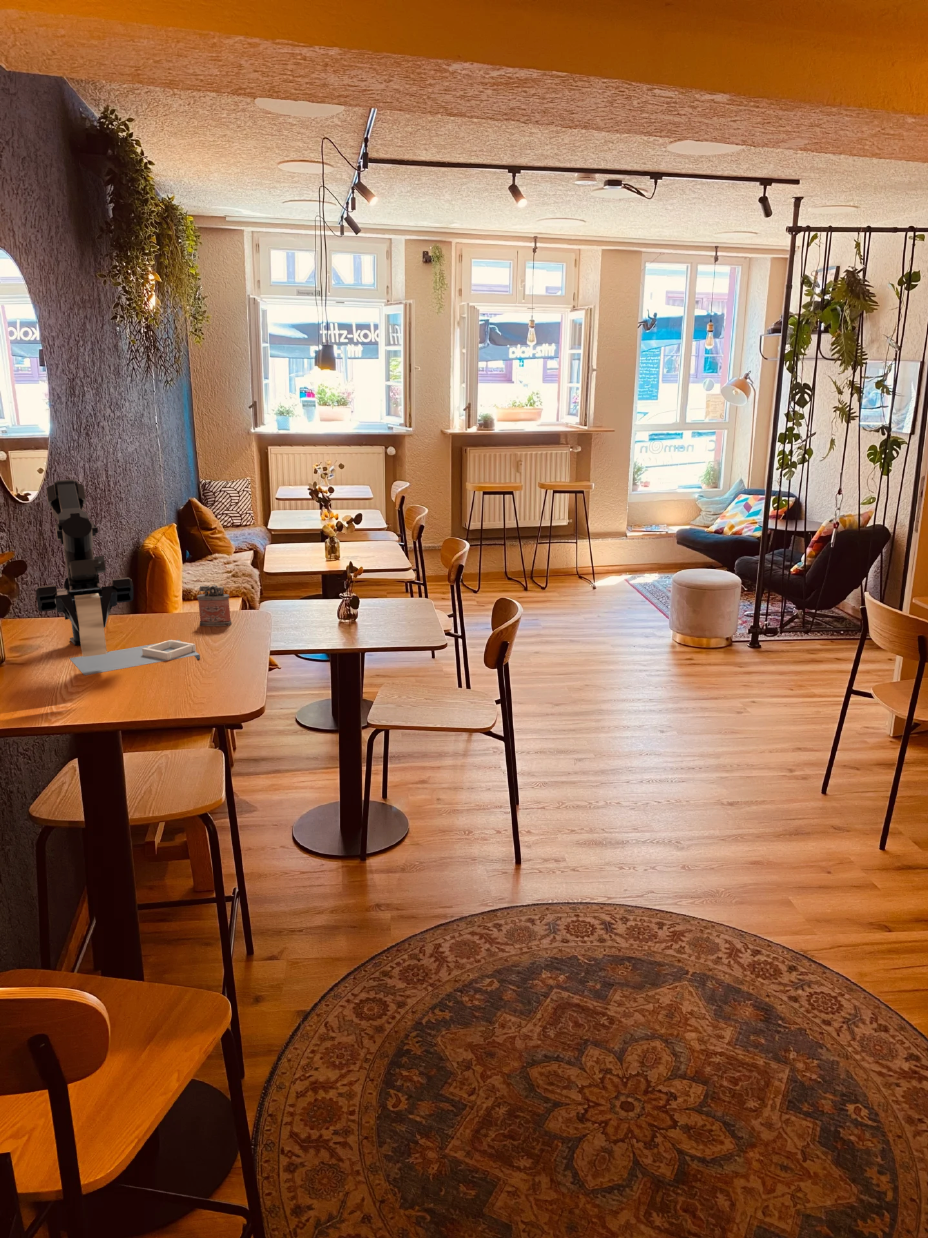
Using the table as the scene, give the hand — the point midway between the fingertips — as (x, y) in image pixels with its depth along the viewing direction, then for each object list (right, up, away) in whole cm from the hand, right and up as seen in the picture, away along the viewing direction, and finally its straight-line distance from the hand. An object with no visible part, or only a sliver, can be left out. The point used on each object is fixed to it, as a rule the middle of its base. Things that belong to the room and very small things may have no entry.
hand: (91, 628), depth 186 cm
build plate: (+5, -7, +12) cm, 15 cm away
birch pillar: (-1, -5, +3) cm, 6 cm away
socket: (+11, -7, +14) cm, 20 cm away
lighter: (+14, 0, +42) cm, 44 cm away
